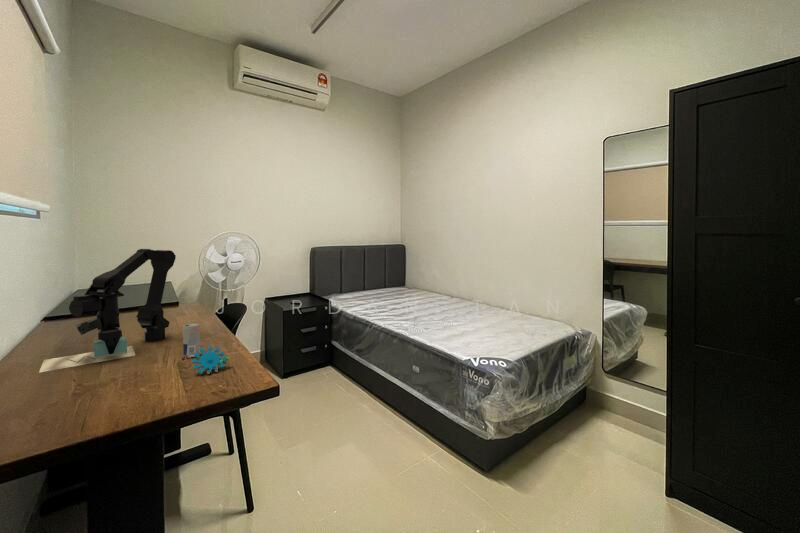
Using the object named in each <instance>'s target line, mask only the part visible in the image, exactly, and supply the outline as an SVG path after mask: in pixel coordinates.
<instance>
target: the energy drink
mask: <svg viewBox="0 0 800 533" xmlns="http://www.w3.org/2000/svg"><path fill="white" fill-rule="evenodd" d="M200 338H201V335H200V325H199V323H198V322H197V323H196V322H193V323H192V322H191V323H186V324H183V325H182V348H183V356H185V357H186V358H185V359H192V358H191V357H195V356H194V354H195V353H197V352H198V353H199V354H200V355H201V352H200V349H201V339H200ZM195 358H196V357H195Z"/></svg>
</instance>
